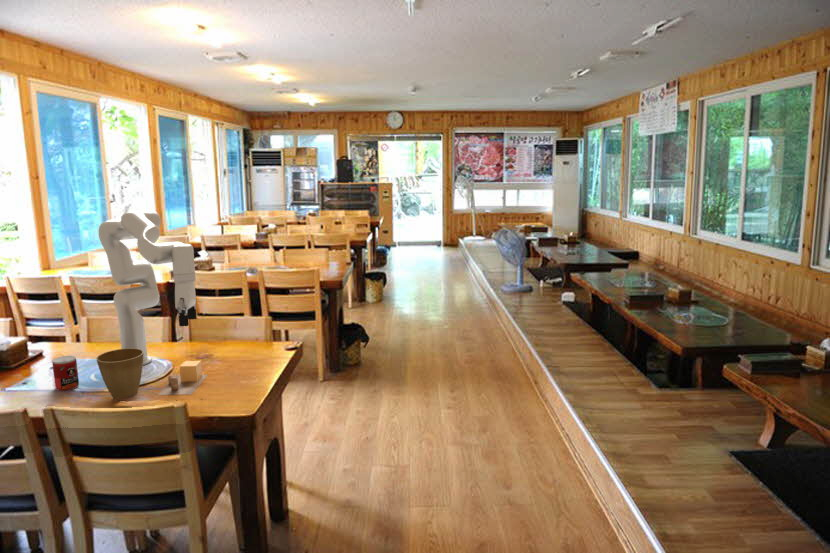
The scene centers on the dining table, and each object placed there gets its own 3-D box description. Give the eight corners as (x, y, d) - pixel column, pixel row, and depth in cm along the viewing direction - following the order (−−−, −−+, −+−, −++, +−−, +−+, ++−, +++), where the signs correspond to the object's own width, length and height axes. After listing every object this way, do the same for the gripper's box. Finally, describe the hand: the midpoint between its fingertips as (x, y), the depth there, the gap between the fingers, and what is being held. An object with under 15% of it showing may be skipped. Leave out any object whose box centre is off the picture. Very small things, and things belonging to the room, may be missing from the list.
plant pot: (123, 387, 220) (118, 346, 217) (156, 392, 216) (152, 350, 213) (90, 403, 206) (85, 359, 203) (125, 408, 202) (121, 363, 199)
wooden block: (180, 381, 222) (179, 366, 221) (186, 375, 228) (184, 361, 226) (197, 381, 222) (196, 365, 221) (202, 375, 228) (200, 360, 227)
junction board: (157, 399, 209) (155, 383, 208) (176, 378, 229) (175, 364, 228) (191, 398, 210) (190, 382, 209) (208, 378, 229) (207, 363, 228)
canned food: (62, 392, 215) (59, 363, 213) (51, 388, 220) (47, 359, 218) (83, 385, 222) (80, 357, 220) (72, 381, 226) (68, 354, 224)
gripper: (181, 273, 226) (185, 316, 229) (166, 282, 209) (170, 329, 212) (201, 273, 227) (205, 316, 230) (187, 281, 210) (191, 328, 213)
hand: (188, 322), depth 221 cm, fingers open, 9 cm apart
